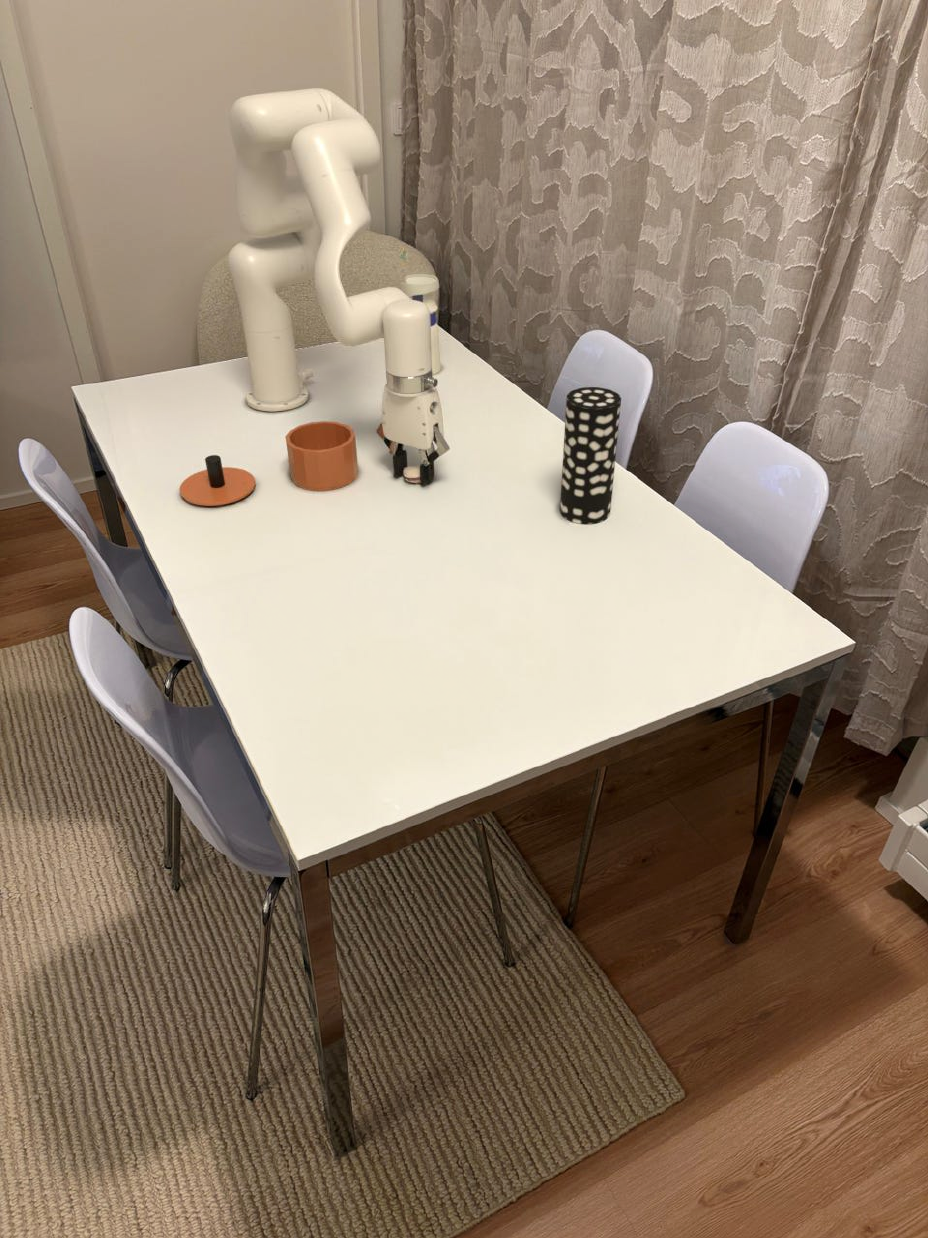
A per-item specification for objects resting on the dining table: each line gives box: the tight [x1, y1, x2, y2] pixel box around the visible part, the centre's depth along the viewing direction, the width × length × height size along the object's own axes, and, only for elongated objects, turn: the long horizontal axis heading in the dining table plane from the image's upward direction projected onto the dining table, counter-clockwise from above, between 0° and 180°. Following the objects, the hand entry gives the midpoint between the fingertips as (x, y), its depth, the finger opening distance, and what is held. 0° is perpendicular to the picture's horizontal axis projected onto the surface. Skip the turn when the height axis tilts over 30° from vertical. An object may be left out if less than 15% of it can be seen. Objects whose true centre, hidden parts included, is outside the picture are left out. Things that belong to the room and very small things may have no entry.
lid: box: [179, 454, 257, 507], centre depth 160 cm, size 13×13×6 cm
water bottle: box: [398, 247, 442, 375], centre depth 197 cm, size 8×9×25 cm
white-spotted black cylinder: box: [559, 386, 622, 525], centre depth 149 cm, size 8×8×20 cm
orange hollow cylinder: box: [285, 420, 359, 492], centre depth 164 cm, size 12×12×8 cm
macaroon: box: [403, 465, 420, 484], centre depth 164 cm, size 4×5×2 cm
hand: (413, 477), depth 164 cm, fingers closed on macaroon, 5 cm apart
